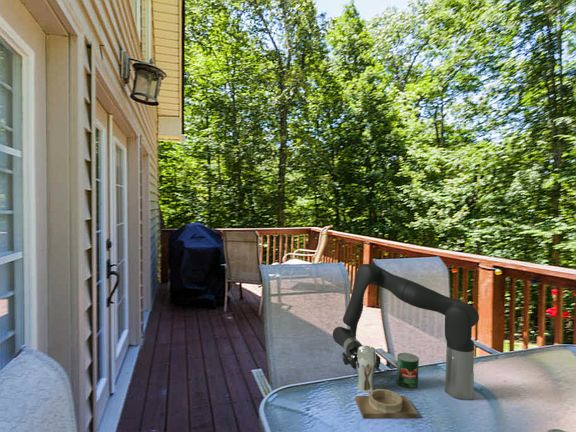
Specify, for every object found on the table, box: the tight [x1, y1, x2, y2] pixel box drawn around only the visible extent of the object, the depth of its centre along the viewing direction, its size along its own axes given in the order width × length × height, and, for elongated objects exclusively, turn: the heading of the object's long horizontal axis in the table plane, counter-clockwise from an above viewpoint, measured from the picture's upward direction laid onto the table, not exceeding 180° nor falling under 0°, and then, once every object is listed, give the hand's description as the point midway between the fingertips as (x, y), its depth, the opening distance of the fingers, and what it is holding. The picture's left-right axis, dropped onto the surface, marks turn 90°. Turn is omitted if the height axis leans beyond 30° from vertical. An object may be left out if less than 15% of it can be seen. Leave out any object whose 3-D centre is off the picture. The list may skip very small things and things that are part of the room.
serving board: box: [354, 388, 419, 419], centre depth 122 cm, size 18×11×4 cm, turn 93°
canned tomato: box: [395, 352, 420, 391], centre depth 139 cm, size 8×8×11 cm
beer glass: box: [356, 345, 377, 393], centre depth 135 cm, size 7×7×15 cm
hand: (366, 366), depth 135 cm, fingers open, 8 cm apart
